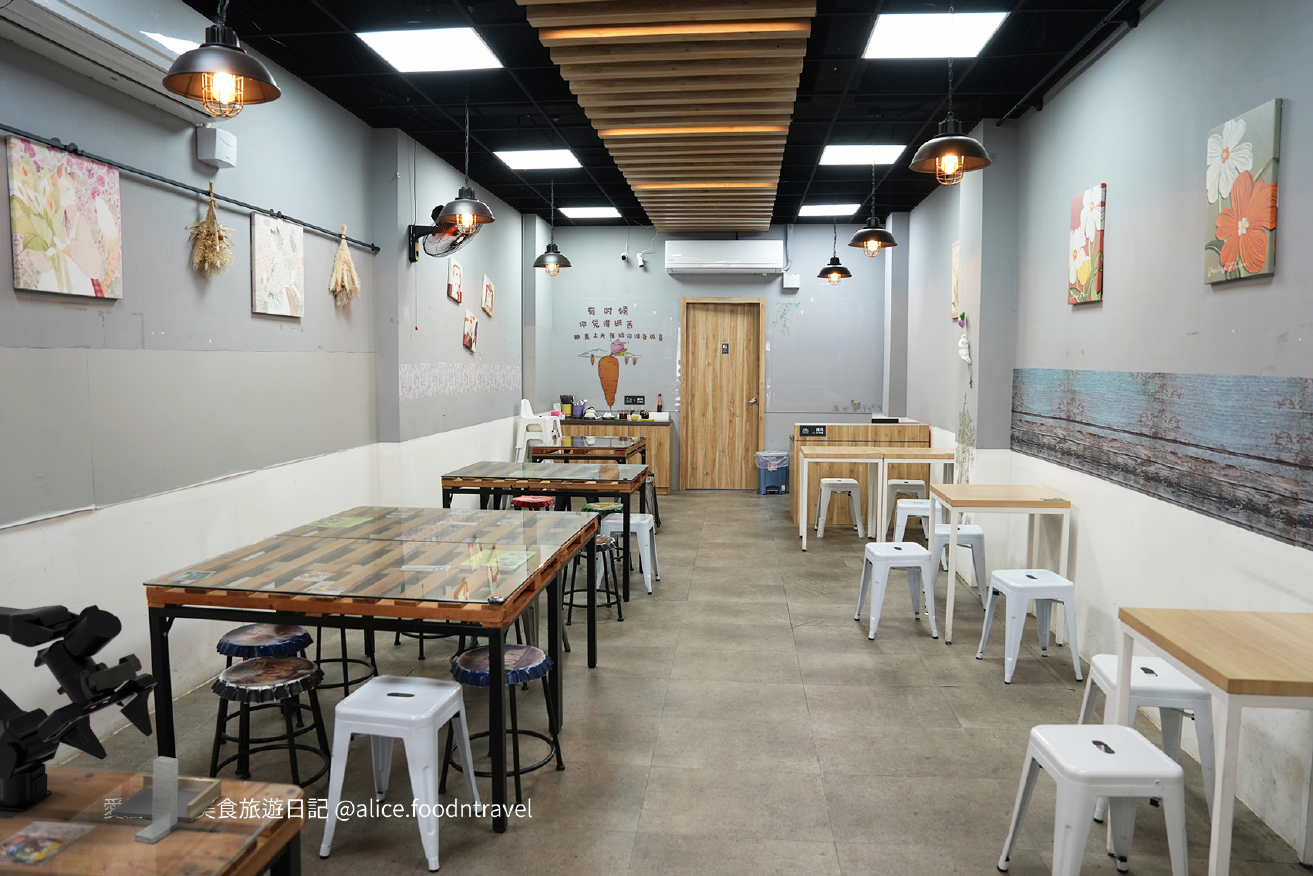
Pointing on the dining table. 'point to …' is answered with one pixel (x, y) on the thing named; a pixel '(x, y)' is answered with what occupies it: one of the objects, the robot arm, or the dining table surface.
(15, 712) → the robot arm
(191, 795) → the charcoal mat
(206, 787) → the wooden corner walls
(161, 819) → the aluminium bracket
